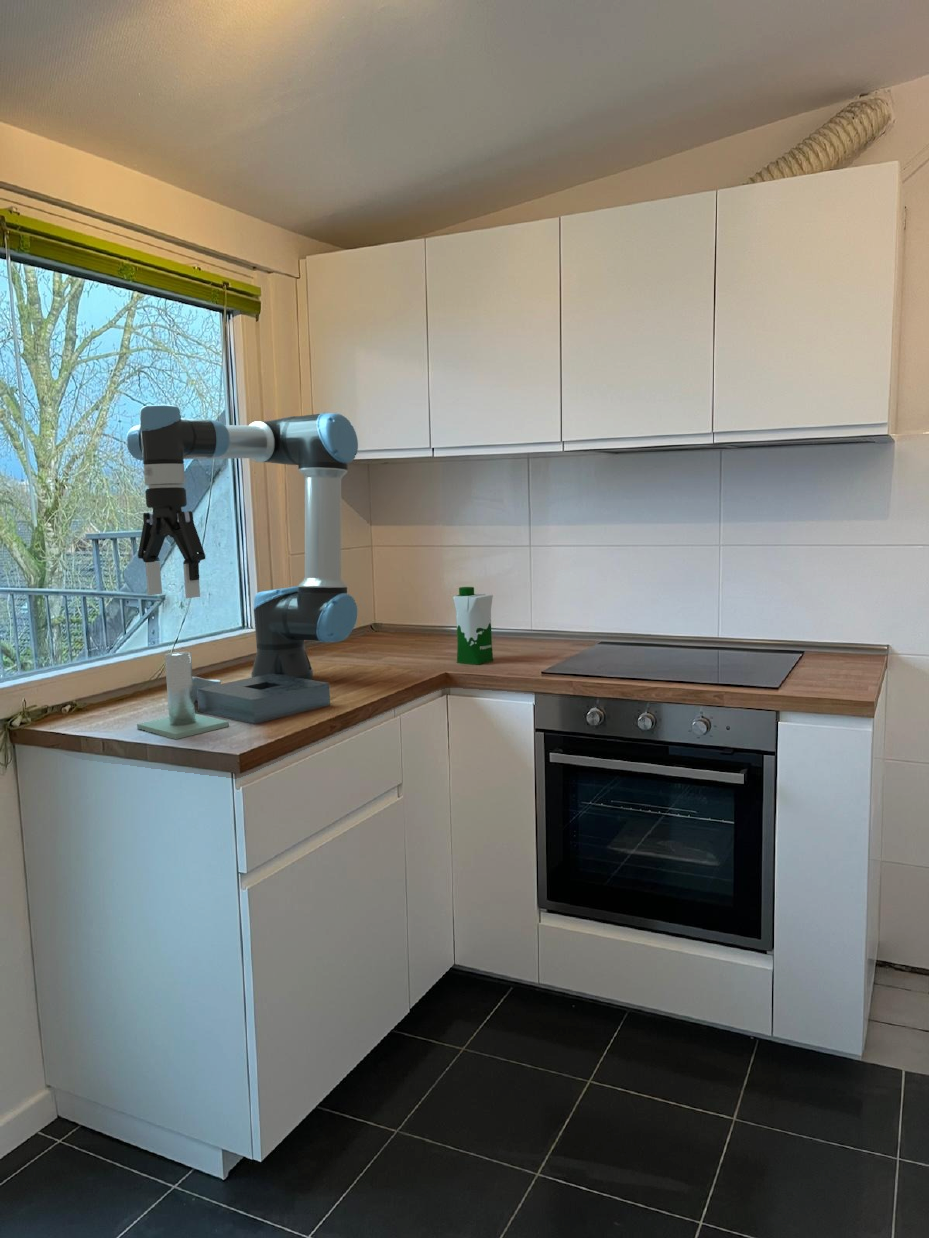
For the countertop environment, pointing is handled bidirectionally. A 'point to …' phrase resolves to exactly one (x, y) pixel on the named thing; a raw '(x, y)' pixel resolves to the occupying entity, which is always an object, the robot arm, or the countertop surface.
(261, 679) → the housing
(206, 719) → the mat
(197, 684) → the white curved piece
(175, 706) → the grey tall block
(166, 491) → the robot arm
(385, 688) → the countertop surface
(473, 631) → the milk carton
